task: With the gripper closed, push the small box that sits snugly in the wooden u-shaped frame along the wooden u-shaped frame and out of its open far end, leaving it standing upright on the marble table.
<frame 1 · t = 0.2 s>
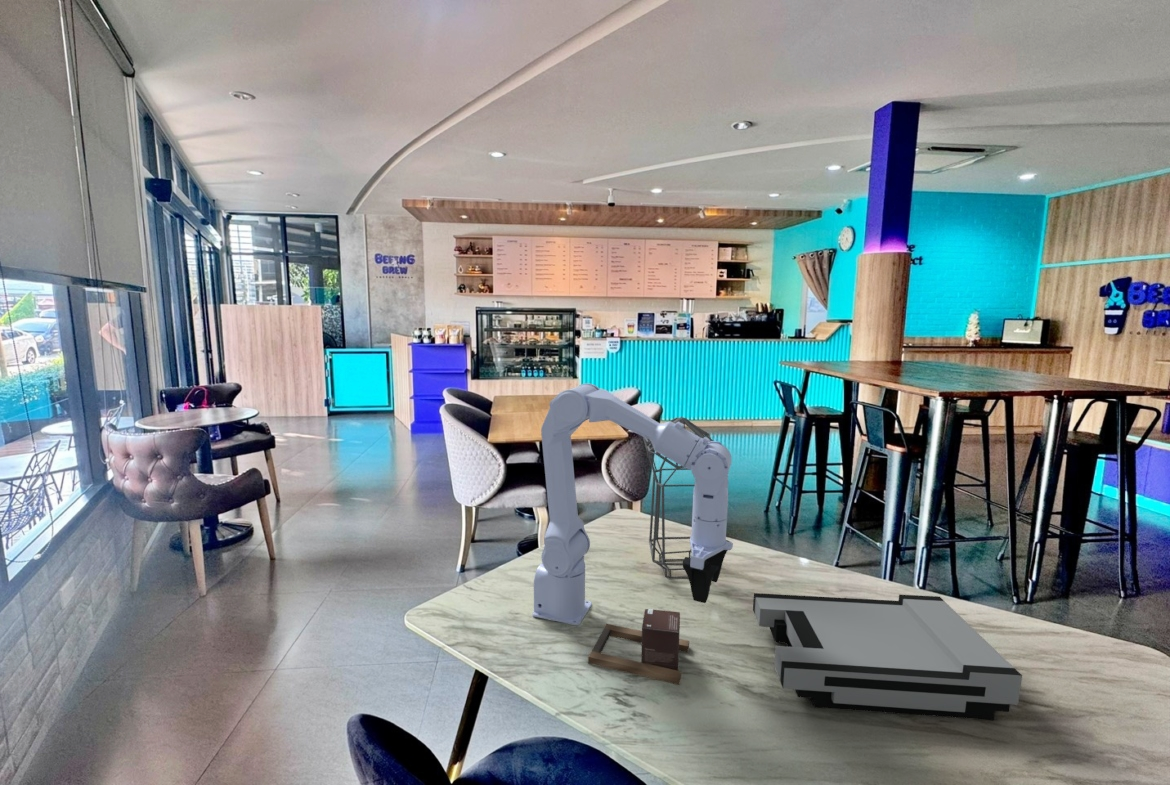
hand: (705, 590, 93), 10 cm above the table, tool pointing down, fingers open, 7 cm apart
box: (660, 661, 90), on the table
game console: (865, 672, 88), on the table
geometric lantern: (676, 570, 121), on the table
wooden u-shaped frame: (639, 655, 91), on the table
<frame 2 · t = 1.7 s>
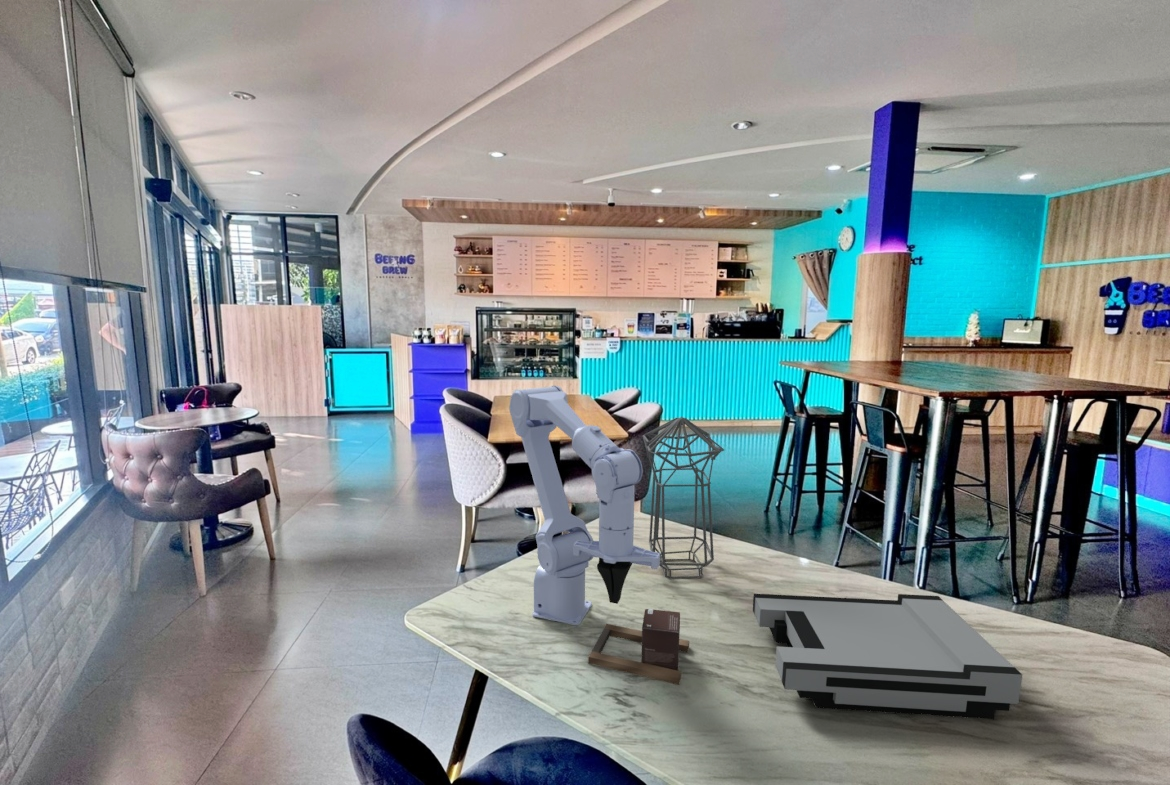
hand: (615, 600, 91), 9 cm above the table, tool pointing down, fingers closed
nothing on the table moved.
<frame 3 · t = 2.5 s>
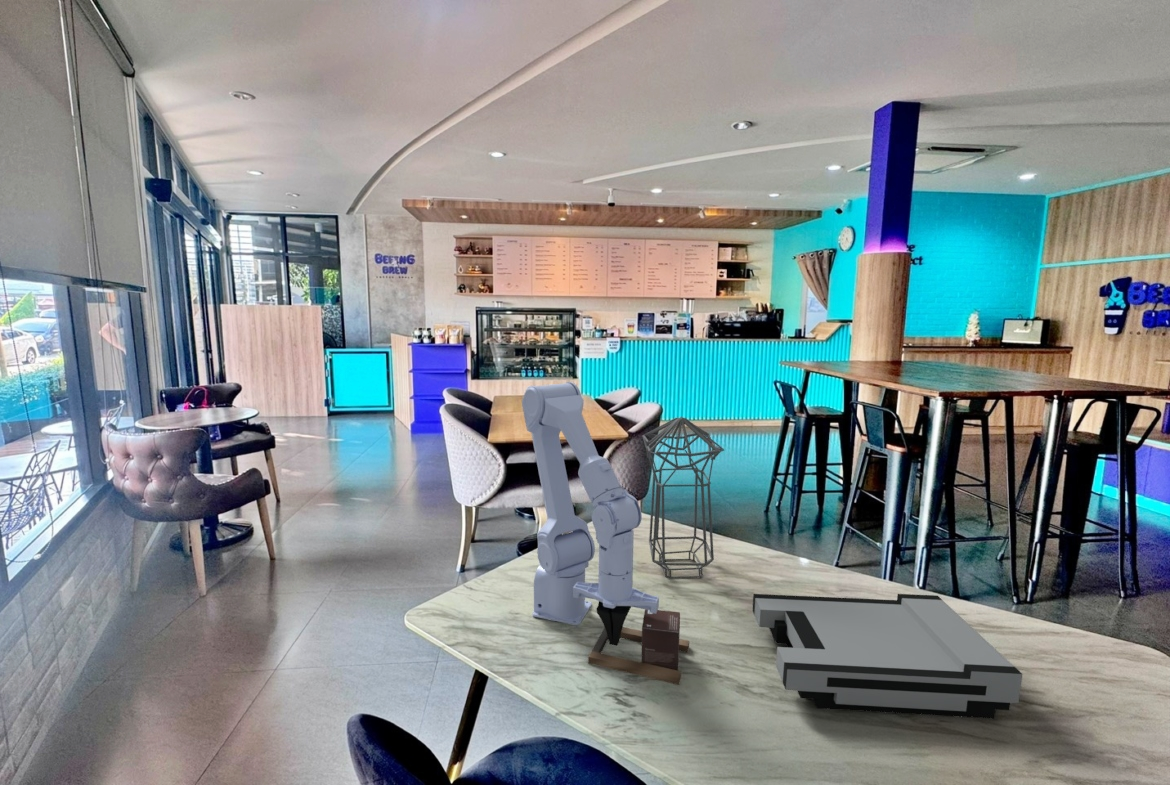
hand: (614, 641, 92), 1 cm above the table, tool pointing down, fingers closed
nothing on the table moved.
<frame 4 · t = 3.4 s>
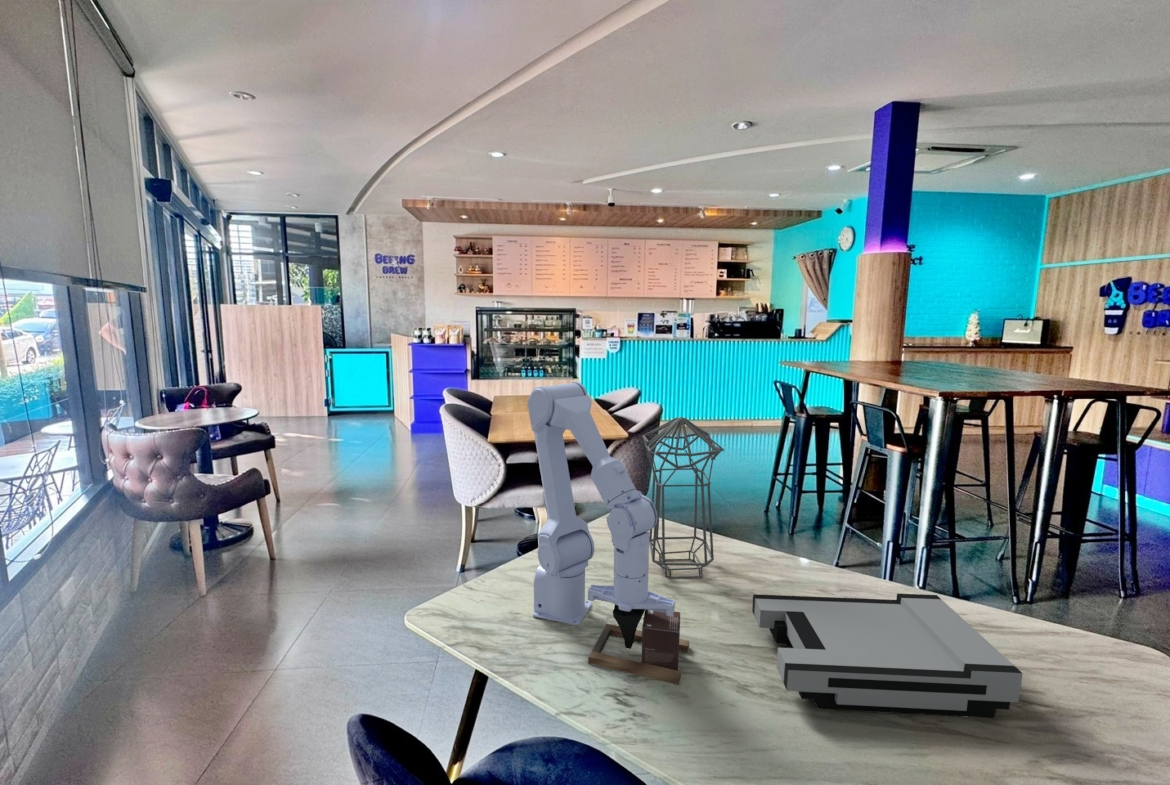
hand: (629, 645, 92), 1 cm above the table, tool pointing down, fingers closed
box: (660, 661, 90), on the table, touching gripper
everything else where it was.
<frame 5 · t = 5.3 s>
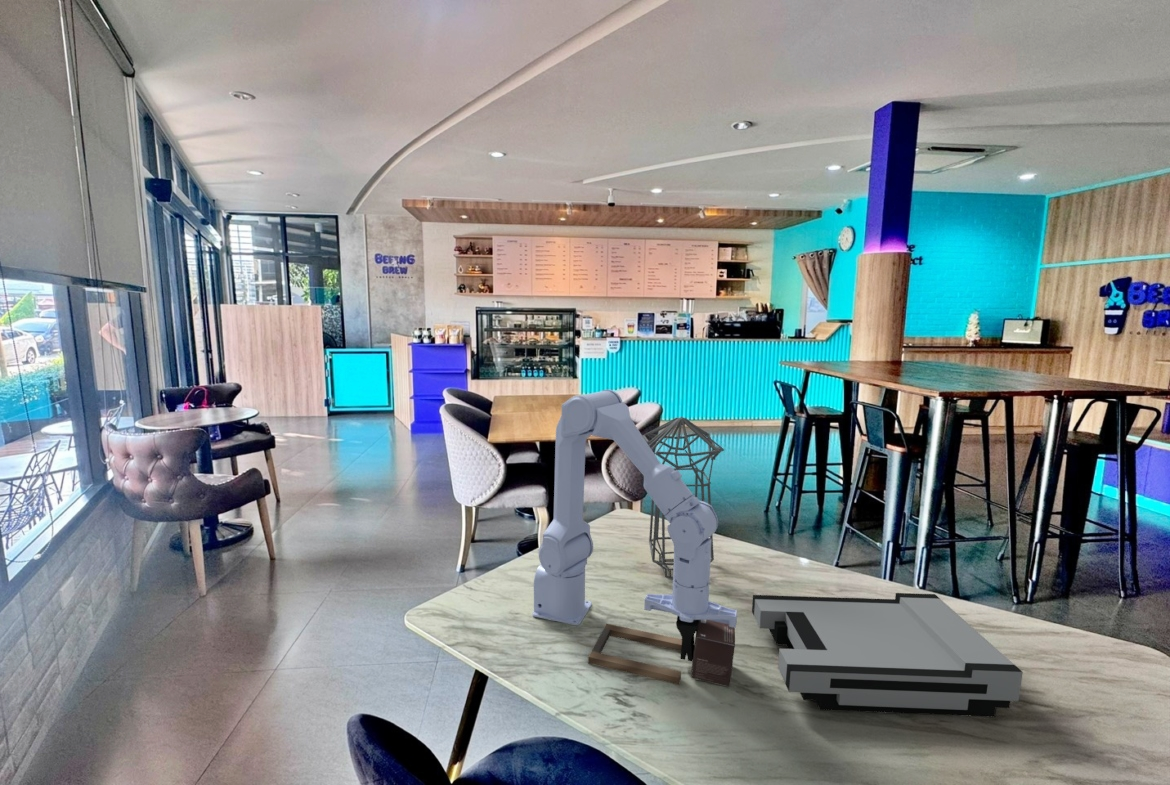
hand: (687, 656, 88), 2 cm above the table, tool pointing down, fingers closed, pressing on box
box: (710, 672, 87), on the table, touching gripper
everything else where it was.
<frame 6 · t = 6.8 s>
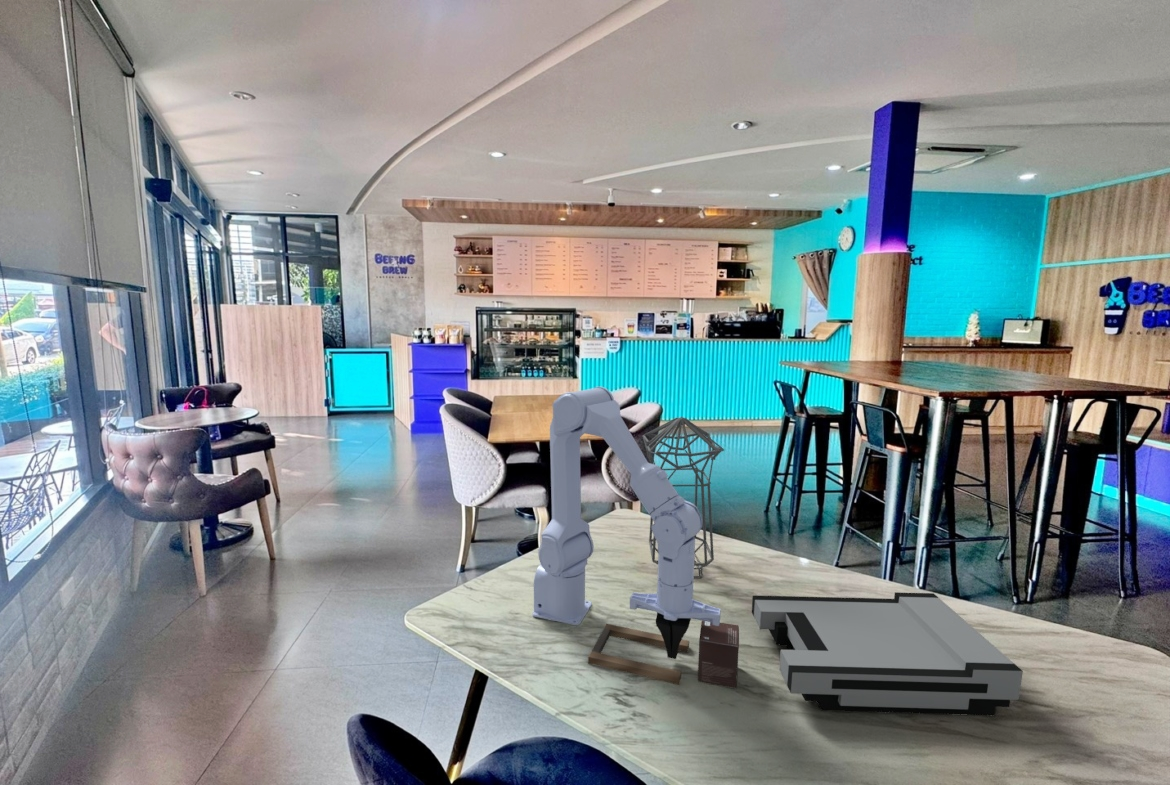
hand: (672, 654, 89), 1 cm above the table, tool pointing down, fingers closed
box: (717, 675, 87), on the table
everything else where it was.
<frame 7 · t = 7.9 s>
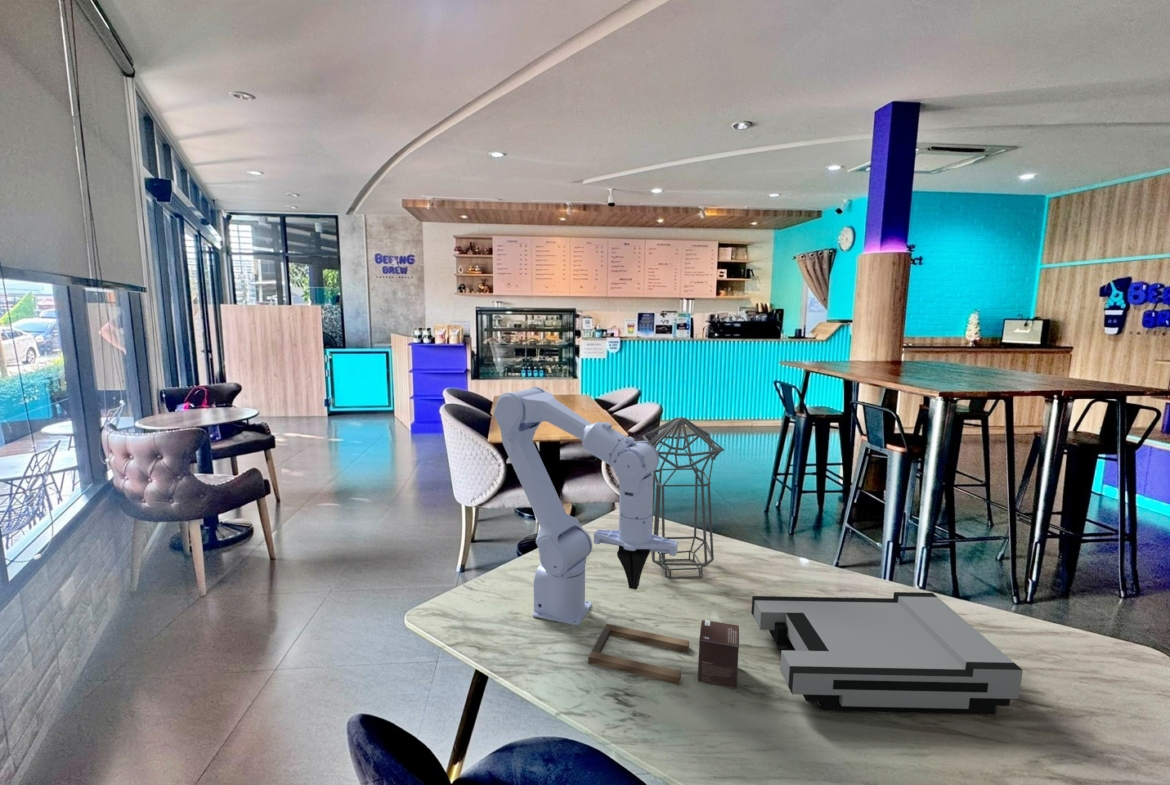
hand: (634, 586, 95), 9 cm above the table, tool pointing down, fingers closed
nothing on the table moved.
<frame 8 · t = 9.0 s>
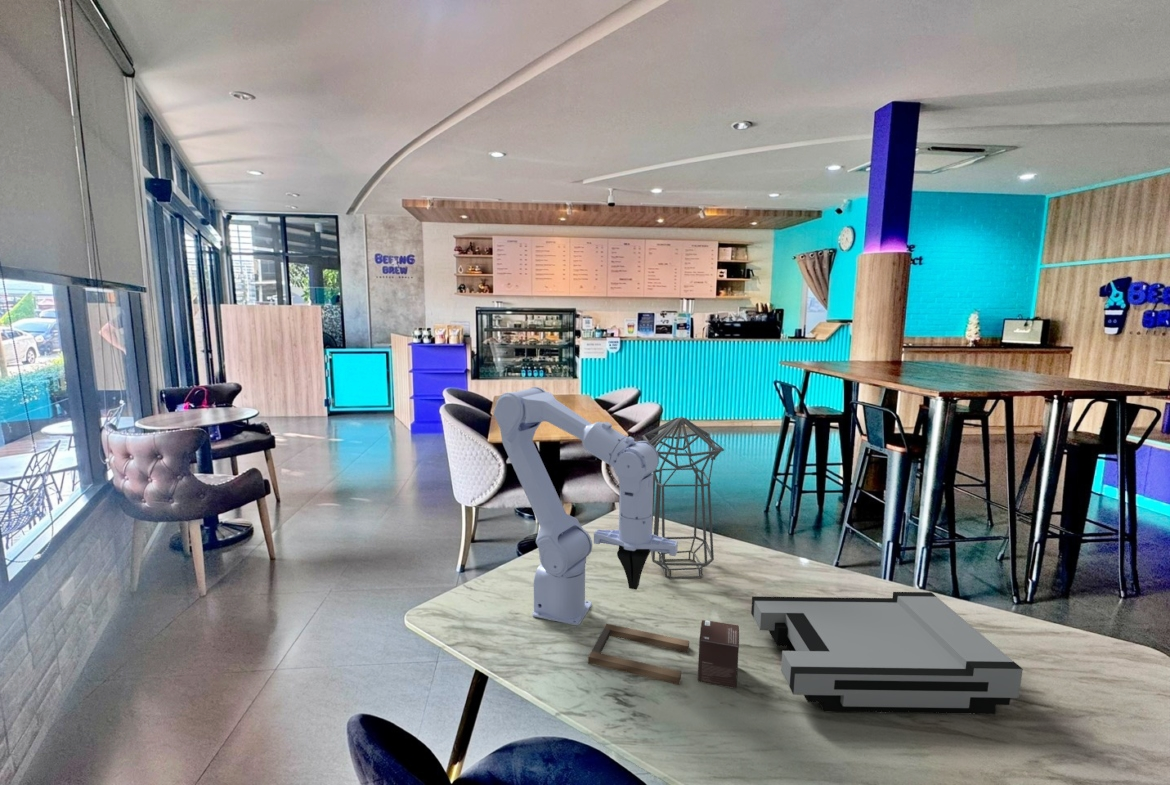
hand: (634, 586, 95), 9 cm above the table, tool pointing down, fingers closed
nothing on the table moved.
at the end: box inside the target area (2.1 cm from its centre), on the table; box tilted 0°; the gripper is holding nothing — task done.
